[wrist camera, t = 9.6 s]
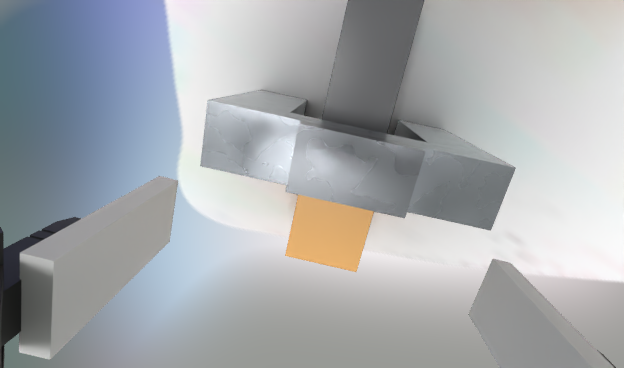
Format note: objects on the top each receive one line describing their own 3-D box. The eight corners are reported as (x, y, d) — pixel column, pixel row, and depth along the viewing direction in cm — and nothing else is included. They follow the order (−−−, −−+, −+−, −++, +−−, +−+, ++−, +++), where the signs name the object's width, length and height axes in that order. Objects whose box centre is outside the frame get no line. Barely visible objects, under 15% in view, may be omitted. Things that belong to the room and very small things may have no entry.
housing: (444, 129, 34) (526, 173, 19) (431, 169, 35) (499, 239, 20) (261, 89, 34) (200, 101, 19) (255, 130, 35) (192, 171, 20)
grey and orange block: (344, 0, 31) (345, -28, 23) (410, 15, 31) (437, -8, 23) (297, 214, 38) (285, 255, 29) (352, 227, 38) (356, 272, 29)
